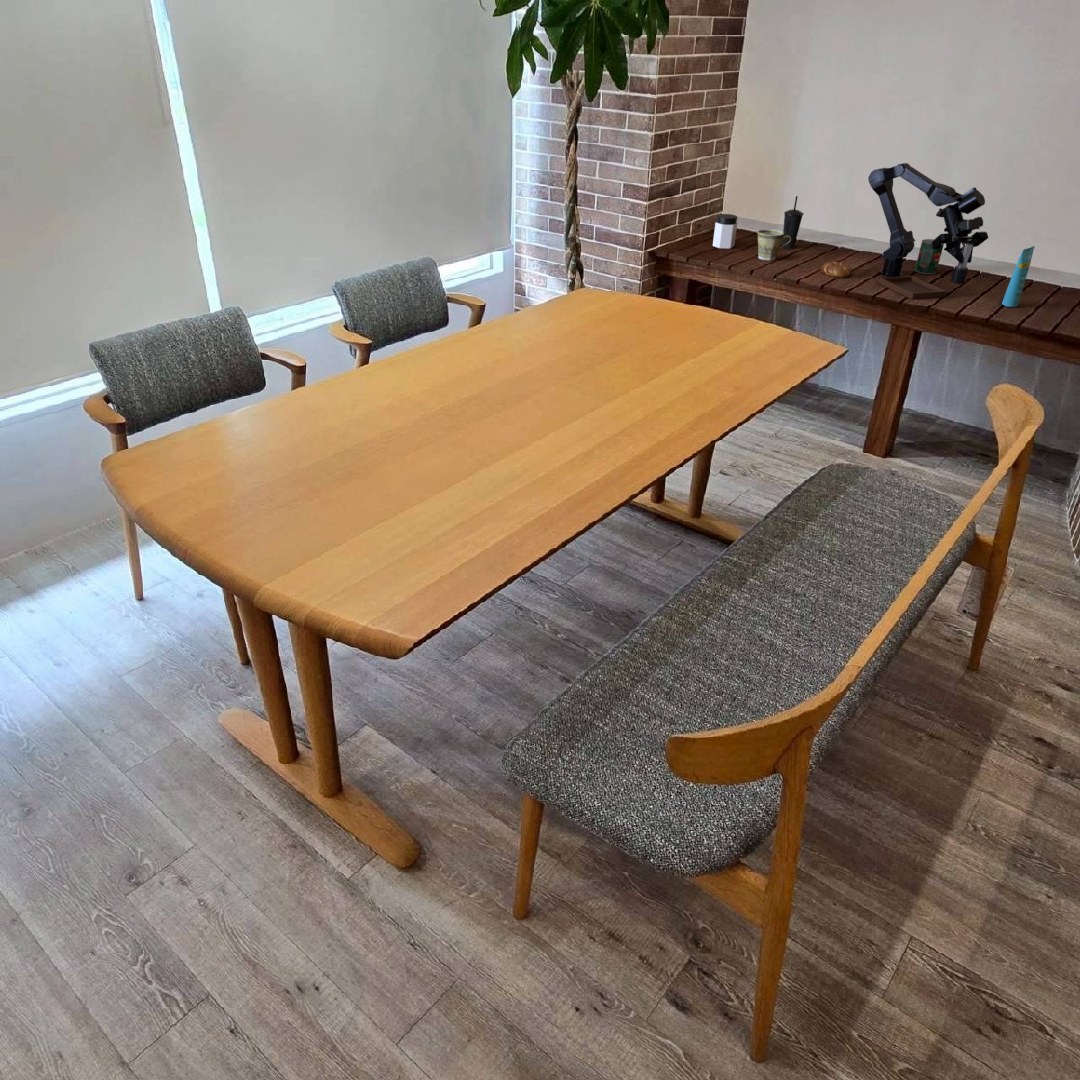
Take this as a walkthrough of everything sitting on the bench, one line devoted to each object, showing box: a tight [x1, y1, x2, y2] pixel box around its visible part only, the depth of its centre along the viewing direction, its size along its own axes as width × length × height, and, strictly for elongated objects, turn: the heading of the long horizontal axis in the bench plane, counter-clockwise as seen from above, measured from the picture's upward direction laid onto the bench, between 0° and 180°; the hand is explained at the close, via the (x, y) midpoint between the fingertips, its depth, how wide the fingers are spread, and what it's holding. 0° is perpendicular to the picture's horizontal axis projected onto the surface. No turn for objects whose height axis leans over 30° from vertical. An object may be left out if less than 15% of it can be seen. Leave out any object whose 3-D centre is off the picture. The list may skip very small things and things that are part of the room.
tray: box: [878, 275, 948, 300], centre depth 297 cm, size 20×14×2 cm
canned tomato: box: [914, 238, 945, 275], centre depth 315 cm, size 8×8×11 cm
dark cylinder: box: [950, 243, 973, 285], centre depth 288 cm, size 4×4×13 cm
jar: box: [712, 213, 738, 250], centre depth 343 cm, size 9×8×12 cm
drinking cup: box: [781, 195, 805, 250], centre depth 341 cm, size 8×8×20 cm
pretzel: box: [820, 261, 852, 279], centre depth 312 cm, size 12×11×4 cm
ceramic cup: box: [757, 228, 791, 262], centre depth 328 cm, size 13×10×10 cm
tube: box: [1001, 245, 1035, 308], centre depth 279 cm, size 7×5×19 cm, turn 134°
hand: (966, 262), depth 287 cm, fingers closed on dark cylinder, 3 cm apart
